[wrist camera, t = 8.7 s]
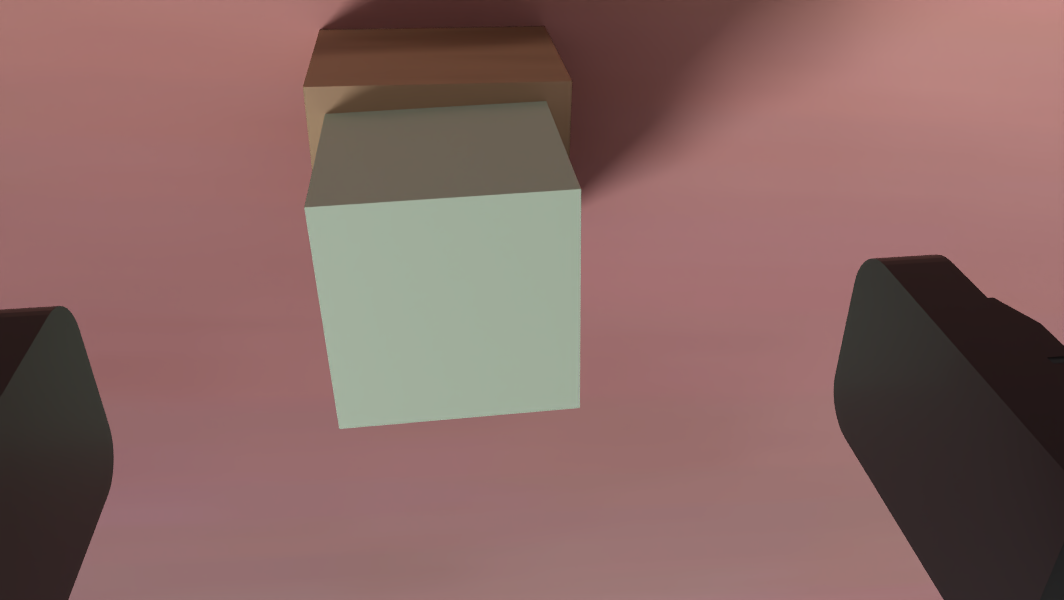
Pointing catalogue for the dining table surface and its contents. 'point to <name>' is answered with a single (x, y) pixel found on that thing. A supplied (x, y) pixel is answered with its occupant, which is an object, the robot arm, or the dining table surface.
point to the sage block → (447, 262)
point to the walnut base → (434, 72)
